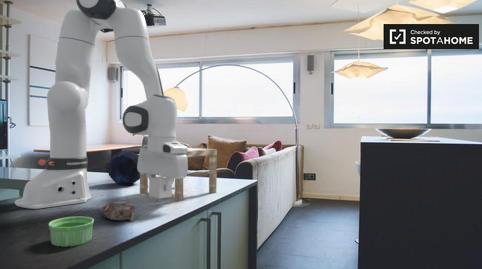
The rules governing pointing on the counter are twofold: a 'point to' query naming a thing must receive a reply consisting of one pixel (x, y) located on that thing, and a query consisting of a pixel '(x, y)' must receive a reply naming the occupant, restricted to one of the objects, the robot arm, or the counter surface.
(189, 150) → the trapdoor
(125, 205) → the mineral rock
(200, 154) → the wooden stool
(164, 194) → the stone block
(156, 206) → the counter surface
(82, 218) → the ramekin
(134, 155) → the decorative orb
